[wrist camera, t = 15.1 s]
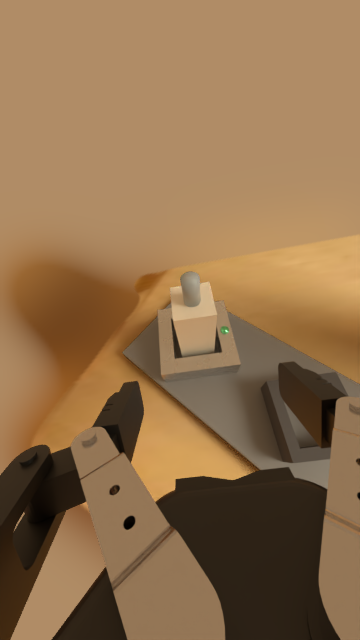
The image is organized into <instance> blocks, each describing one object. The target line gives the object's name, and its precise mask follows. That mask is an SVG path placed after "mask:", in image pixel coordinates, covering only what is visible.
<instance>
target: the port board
mask: <svg viewBox="0 0 360 640" xmlns="http://www.w3.org/2000/svg"><path fill="white" fill-rule="evenodd" d="M168 308H172V305H171V303H170V304H169V305H168V306H167V307H166V308H165V309H168ZM227 314H228V318H229V322H230V325H231V329H232V333H233V337H234V340H235V344H236V348H237V352H238V355H239V359H240V363H241V365H240V368H239V370H238V373H232V374H224V375H217V376H209V377H202V378H194V379H187V380H179V381H172V382H165V381H164V379H163V377H162V376H161V364H160V346H159V327H158V316H157V317H156V318H155V319H154V320H153V321H152V322H151V323H150V324H149V326H148V327H147V328H146V329H145V330H144V331H143V332H142V333H141V334H140V335H139V336H138V337H137V338H136V339H135V340H134V341H133V342H132V343H131V344H130V345H129V346H128V347H127V348H126V349H125V350H124V351H123V352H122V353H123V354H124V355H125V357H127V358H128V359H129V360H130V361H131V362H132V363H134V364H135V365H136V366H137V367H138V368H140V369H141V370H142V371H143V372H144V373H145V374H147V375H148V376H149V377H150V378H151V379H153V380H154V381H155V382H156V383H157V384H158V385H160V386H161V387H162V388H163V389H164V390H166V391H167V392H168V393H169V394H170V395H171V396H173V397H174V398H175V399H176V400H177V401H179V402H180V403H181V404H182V405H183V406H184V407H186V408H187V409H188V410H189V411H190V412H192V413H193V414H194V415H195V416H196V417H197V418H199V419H200V420H201V421H202V422H203V423H205V424H206V425H207V426H208V427H209V428H210V429H212V430H213V431H214V432H215V433H216V434H218V435H219V436H220V437H221V438H222V439H223V440H225V441H226V442H227V443H228V444H229V445H230V446H232V447H233V448H234V449H235V450H236V451H238V452H239V453H240V454H241V455H242V456H243V457H245V458H246V459H247V460H248V461H249V462H251V463H252V464H253V465H254V466H255V467H256V468H258V469H259V470H265V469H274V468H283V467H289V468H290V470H291V472H292V474H293V476H294V477H295V478H300V479H304V480H308V481H310V482H313V483H316V484H318V485H320V486H323V487H324V488H326V489H328V478H329V467H330V459H327V460H318V461H309V462H301V463H287V462H283V461H282V458H281V455H280V451H279V448H278V445H277V441H276V438H275V435H274V431H273V428H272V425H271V422H270V418H269V415H268V412H267V408H266V405H265V402H264V398H263V395H262V392H261V387H262V386H263V385H264V383H265V382H266V381H271V380H278V379H279V375H278V365H279V363H283V362H291V361H294V362H296V363H297V364H298V365H299V366H301V367H302V368H303V369H308V370H311V371H313V372H315V373H317V374H324V373H332V372H336V371H335V370H333V369H331V368H329V367H327V366H326V365H324V364H322V363H320V362H318V361H316V360H315V359H313V358H311V357H309V356H307V355H306V354H304V353H302V352H300V351H298V350H297V349H295V348H293V347H291V346H289V345H288V344H286V343H284V342H282V341H280V340H278V339H277V338H275V337H273V336H271V335H269V334H268V333H266V332H264V331H262V330H260V329H259V328H257V327H255V326H253V325H251V324H250V323H248V322H246V321H244V320H242V319H240V318H239V317H237V316H235V315H233V314H231V313H230V312H228V311H227ZM174 335H175V345H176V356H177V358H183V357H182V354H181V350H180V346H179V342H178V338H177V334H176V330H174ZM214 353H219V350H218V345H217V341H216V336H215V349H214ZM336 373H337V375H338V377H339V378H340V380H341V382H342V384H343V386H344V388H345V390H346V392H347V394H348V396H349V397H358V398H360V384H358V383H356V382H355V381H353V380H351V379H349V378H347V377H345V376H344V375H342V374H340V373H338V372H336ZM284 404H285V407H286V409H287V412H288V415H289V418H290V421H291V424H292V427H293V429H294V432H295V435H296V438H297V441H298V444H299V447H308V446H317V445H318V444H317V443H316V441H315V440H314V439H313V437H312V436H311V435H310V434H309V432H308V431H307V430H306V429H305V427H304V426H303V425H302V423H301V422H300V421H299V420H298V418H297V417H296V416H295V415H294V413H293V412H292V411H291V409H290V408H289V407H288V406H287V404H286V403H285V402H284Z"/></svg>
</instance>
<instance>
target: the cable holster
mask: <svg viewBox="0 0 360 640" xmlns="http://www.w3.org/2000/svg"><path fill="white" fill-rule="evenodd" d="M318 375H320V376H321V377H322V378H323V379H325V380H326V381H328V382H329V384H332V385H333V386H334V387H335V388H337V389H338V390H339V391H341V392H342V393H343V394H345V395H346V396H347V397H349V396H348V394H347V392H346V390H345V388H344V386H343V384H342V382H341V380H340V378H339V377H338V375H337V373H336V372H332V373H324V374H318ZM261 392H262V395H263V398H264V402H265V405H266V408H267V412H268V415H269V418H270V422H271V425H272V428H273V431H274V435H275V438H276V441H277V445H278V448H279V451H280V455H281V458H282V461H283V462H287V463H301V462H309V461H318V460H327V459H330V456H331V448H322V449H321V448H320V446H319V445H317V446H308V447H299V444H298V441H297V438H296V435H295V432H294V429H293V427H292V424H291V421H290V418H289V415H288V412H287V409H286V407H285V404H284V401H283V399H282V397H281V395H280V391H279V379H278V380H271V381H266V382H265V383H264V385H263V386H262V387H261Z"/></svg>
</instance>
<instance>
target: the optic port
mask: <svg viewBox="0 0 360 640" xmlns="http://www.w3.org/2000/svg"><path fill="white" fill-rule="evenodd" d="M214 304H215V308H216V312H217V323H216V341H217V345H218V350H219V353H214V354H206V355H199V356H192V357H184V358H177V356H176V345H175V335H174V330H175V327H174V323H173V315H172V308H168V309H161V310H158V327H159V346H160V364H161V376H162V377H163V379H164V381H165V382H172V381H179V380H187V379H194V378H202V377H209V376H217V375H224V374H232V373H238V370H239V368H240V365H241V363H240V359H239V355H238V352H237V348H236V344H235V340H234V337H233V333H232V329H231V325H230V322H229V318H228V314H227V311H226V307H225V303H224V300H223V301H216V302H214Z"/></svg>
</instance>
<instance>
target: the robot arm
mask: <svg viewBox="0 0 360 640" xmlns="http://www.w3.org/2000/svg"><path fill="white" fill-rule="evenodd" d="M278 375H279V391H280V395H281V397H282V399H283V401H284V402H285V403H286V404H287V406H288V407H289V408H290V409H291V411H292V412H293V413H294V415H295V416H296V417H297V418H298V420H299V421H300V422H301V423H302V425H303V426H304V427H305V429H306V430H307V431H308V432H309V434H310V435H311V436H312V437H313V439H314V440H315V441H316V443H317V444H318V445H319V446H320V448H321V449H322V448H331V456H330V467H329V478H328V489H326V488H324V487H323V486H320V485H318V484H316V483H313V482H310V481H308V480H304V479H300V478H295V477H294V476H293V474H292V472H291V470H290V468H289V467H283V468H274V469H265V470H259V471H257V472H254V473H251V474H249V475H246V476H244V477H241V478H239V479H236V480H226V479H219V478H212V477H205V476H200V477H191V478H182V479H176V488H175V490H174V491H172V492H170V493H168V494H166V495H164V496H163V497H161V498H160V499H159V500H157V501H156V502H155V501H154V500H153V498H152V496H151V495H150V493H149V492H148V490H147V489H146V487H145V485H144V484H143V482H142V481H141V479H140V477H139V476H138V474H137V473H136V471H135V469H134V468H133V466H132V465H131V461H132V457H133V453H134V449H135V446H136V442H137V438H138V434H139V431H140V427H141V423H142V419H143V415H144V407H143V401H142V397H141V392H140V387H139V383H138V381H134V382H126V383H124V384H123V386H122V387H121V389H120V391H119V392H116V393H114V394H113V395H112V396H111V397H110V398H109V399H108V400H107V402H106V404H105V406H104V407H103V409H102V411H101V413H100V414H99V416H98V418H97V420H96V421H95V423H94V425H93V426H92V428H89V429H87V430H85V431H83V432H82V433H80V434H79V435H78V436H77V437H76V438H75V439H74V440H73V442H72V444H71V447H68V448H66V449H63V450H60V451H57V452H54V453H52V454H51V452H50V449H49V447H48V446H47V445H38V446H35V447H32V448H30V449H28V450H26V451H24V452H23V453H21V454H20V455H19V456H17V457H16V458H15V459H14V460H13V461H12V462H11V463H10V464H9V466H8V467H7V468H6V469H5V470H4V472H3V473H2V474H1V475H0V640H10V639H11V637H12V634H13V632H14V630H15V627H16V625H17V623H18V620H19V618H20V616H21V614H22V611H23V609H24V607H25V604H26V602H27V600H28V597H29V595H30V593H31V590H32V588H33V586H34V583H35V581H36V579H37V577H38V574H39V572H40V570H41V567H42V565H43V563H44V560H45V558H46V556H47V554H48V551H49V549H50V546H51V544H52V542H53V540H54V537H55V535H56V533H57V530H58V528H59V526H60V524H61V521H62V519H63V517H64V514H65V512H66V510H68V509H70V508H72V507H75V506H77V505H79V504H82V503H84V502H86V501H87V505H88V508H89V511H90V515H91V518H92V521H93V525H94V528H95V531H96V535H97V538H98V542H99V545H100V548H101V551H102V555H103V558H104V561H105V565H106V567H105V568H104V570H103V571H102V572H101V574H100V575H99V576H98V578H97V579H96V580H95V582H94V583H93V584H92V586H91V587H90V588H89V590H88V591H87V593H86V594H85V595H84V597H83V598H82V599H81V601H80V602H79V603H78V605H77V606H76V607H75V609H74V610H73V612H72V613H71V614H70V616H69V617H68V618H67V620H66V621H65V622H64V624H63V625H62V626H61V628H60V629H59V630H58V632H57V633H56V635H55V636H54V637H53V639H52V640H360V398H358V397H347V396H346V395H345V394H343V393H342V392H341V391H339V390H338V389H337V388H335V387H334V386H333V385H332V384H329V382H328V381H326V380H325V379H323V378H322V377H321V376H320V375H318V374H317V373H315V372H313V371H311V370H308V369H303V368H302V367H301V366H299V365H298V364H297V363H296V362H294V361H291V362H283V363H279V365H278ZM23 512H24V513H25V515H24V516H23V518H22V520H21V521H20V523H19V524H18V526H17V528H16V529H15V526H16V524H17V522H18V520H19V519H20V517H21V515H22V514H23ZM14 529H15V531H14ZM13 532H14V533H13Z"/></svg>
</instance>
